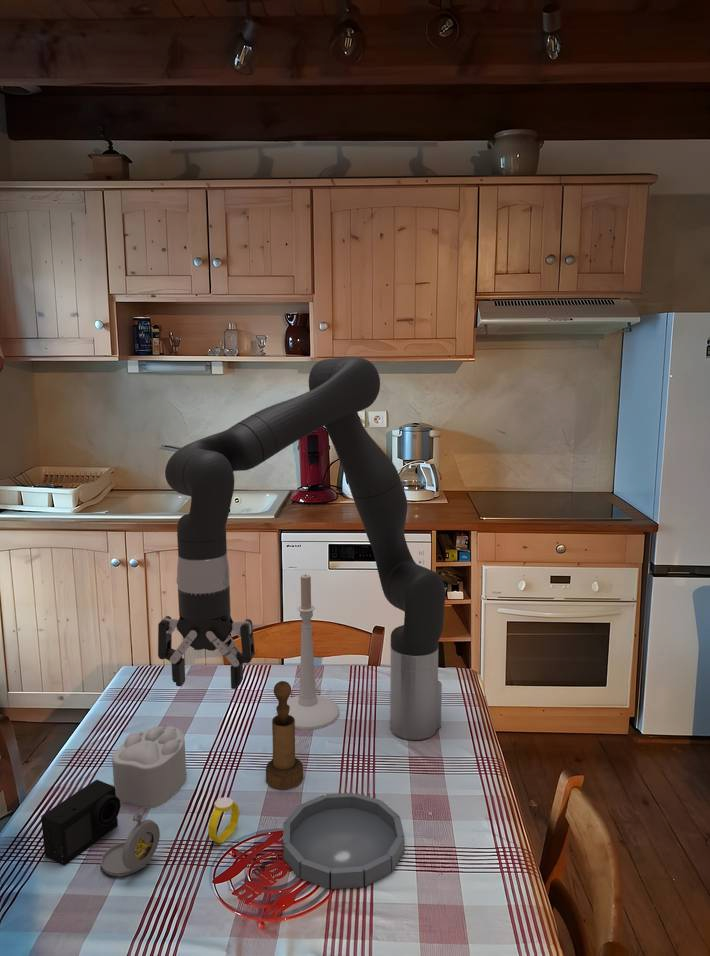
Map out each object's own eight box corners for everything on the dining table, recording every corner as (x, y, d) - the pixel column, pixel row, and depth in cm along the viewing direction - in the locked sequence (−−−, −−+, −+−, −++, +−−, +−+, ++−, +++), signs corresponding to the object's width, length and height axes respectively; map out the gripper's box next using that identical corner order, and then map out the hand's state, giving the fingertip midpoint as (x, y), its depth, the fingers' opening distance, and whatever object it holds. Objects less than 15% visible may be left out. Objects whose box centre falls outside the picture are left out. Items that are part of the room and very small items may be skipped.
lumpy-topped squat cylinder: (106, 799, 121) (102, 752, 119) (150, 757, 133) (147, 714, 132) (160, 810, 118) (157, 762, 116) (200, 767, 130) (198, 722, 129)
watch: (228, 825, 115) (229, 789, 114) (243, 830, 113) (243, 794, 113) (204, 845, 109) (204, 808, 109) (218, 851, 108) (219, 814, 107)
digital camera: (69, 870, 105) (65, 826, 103) (44, 857, 107) (40, 815, 106) (123, 828, 114) (121, 788, 112) (99, 817, 116) (96, 778, 115)
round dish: (358, 793, 122) (357, 780, 122) (427, 854, 107) (427, 839, 107) (262, 834, 112) (262, 820, 111) (324, 907, 97) (324, 891, 97)
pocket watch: (107, 848, 109) (103, 788, 107) (164, 845, 110) (161, 785, 108) (93, 888, 101) (88, 824, 99) (154, 884, 102) (150, 821, 100)
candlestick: (351, 708, 150) (350, 570, 145) (315, 736, 140) (313, 588, 134) (301, 693, 157) (299, 560, 152) (264, 718, 147) (259, 577, 141)
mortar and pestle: (297, 792, 123) (295, 693, 119) (260, 787, 124) (257, 690, 121) (307, 769, 129) (305, 675, 126) (272, 765, 130) (270, 672, 127)
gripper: (257, 576, 110) (259, 676, 112) (166, 573, 111) (171, 672, 114) (244, 593, 102) (247, 699, 105) (147, 589, 104) (153, 694, 107)
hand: (207, 685), depth 110 cm, fingers open, 8 cm apart
